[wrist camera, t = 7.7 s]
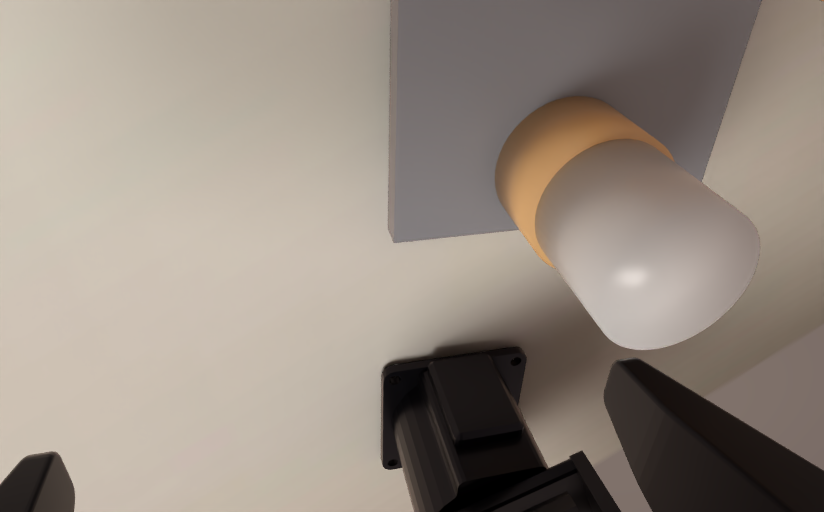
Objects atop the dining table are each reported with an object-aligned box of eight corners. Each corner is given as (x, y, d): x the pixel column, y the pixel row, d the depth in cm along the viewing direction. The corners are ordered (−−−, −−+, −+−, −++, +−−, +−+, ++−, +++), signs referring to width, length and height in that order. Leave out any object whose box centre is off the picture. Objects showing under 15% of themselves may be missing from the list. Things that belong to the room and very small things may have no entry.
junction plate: (676, 199, 25) (829, 325, 19) (387, 228, 23) (451, 387, 16) (845, -340, 16) (1250, -448, 10) (395, -393, 14) (545, -591, 7)
